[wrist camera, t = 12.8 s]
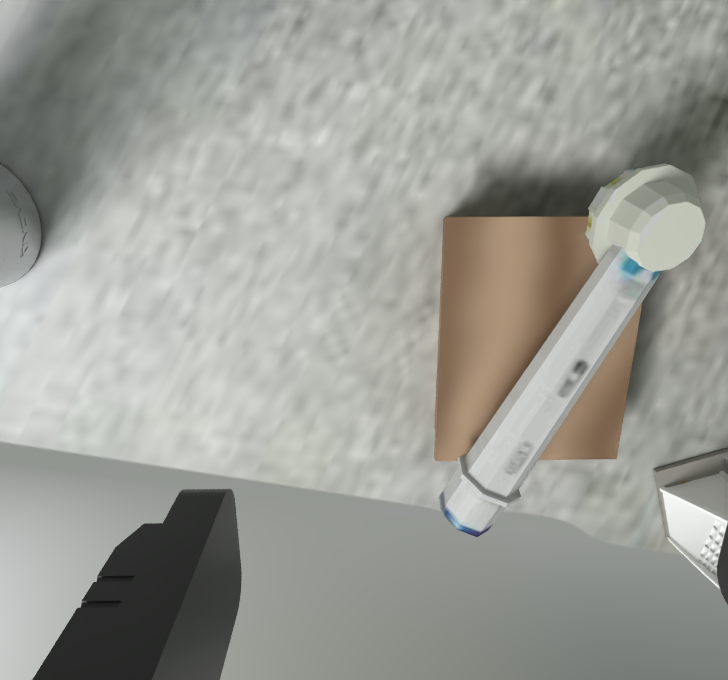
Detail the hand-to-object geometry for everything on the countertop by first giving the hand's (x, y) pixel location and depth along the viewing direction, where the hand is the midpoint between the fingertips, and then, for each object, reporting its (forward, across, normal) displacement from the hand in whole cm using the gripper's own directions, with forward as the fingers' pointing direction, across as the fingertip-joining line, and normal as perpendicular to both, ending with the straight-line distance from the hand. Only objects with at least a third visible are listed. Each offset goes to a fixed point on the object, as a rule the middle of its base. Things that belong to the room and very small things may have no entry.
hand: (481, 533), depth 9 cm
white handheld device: (+26, -10, +6) cm, 29 cm away
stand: (+30, -10, +6) cm, 32 cm away
